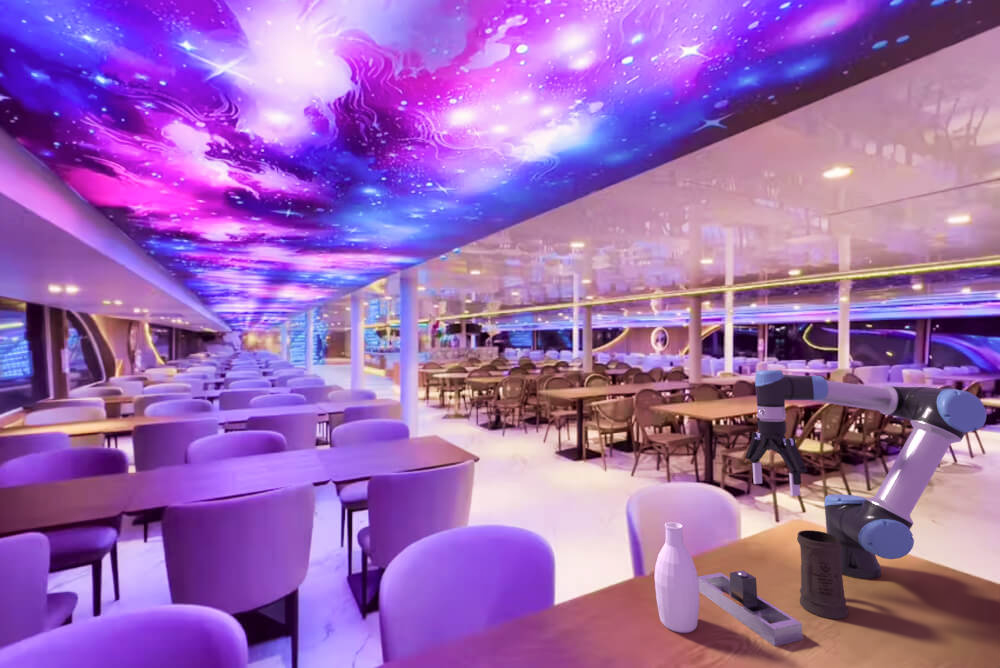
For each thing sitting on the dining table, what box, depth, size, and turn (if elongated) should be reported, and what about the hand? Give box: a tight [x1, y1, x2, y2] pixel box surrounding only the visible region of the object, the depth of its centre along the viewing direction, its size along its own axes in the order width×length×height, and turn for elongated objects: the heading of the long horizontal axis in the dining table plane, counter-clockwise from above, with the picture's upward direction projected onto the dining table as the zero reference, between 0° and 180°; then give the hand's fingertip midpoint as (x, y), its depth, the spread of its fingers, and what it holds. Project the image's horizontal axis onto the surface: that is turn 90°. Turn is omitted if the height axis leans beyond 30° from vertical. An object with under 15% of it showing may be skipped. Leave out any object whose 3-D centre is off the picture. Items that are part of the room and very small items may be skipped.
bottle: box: [654, 521, 700, 634], centre depth 119 cm, size 11×11×25 cm
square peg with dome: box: [729, 570, 758, 612], centre depth 122 cm, size 4×4×11 cm
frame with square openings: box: [697, 572, 803, 647], centre depth 122 cm, size 8×28×4 cm, turn 15°
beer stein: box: [797, 529, 849, 620], centre depth 126 cm, size 15×11×20 cm
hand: (775, 489), depth 138 cm, fingers open, 13 cm apart
